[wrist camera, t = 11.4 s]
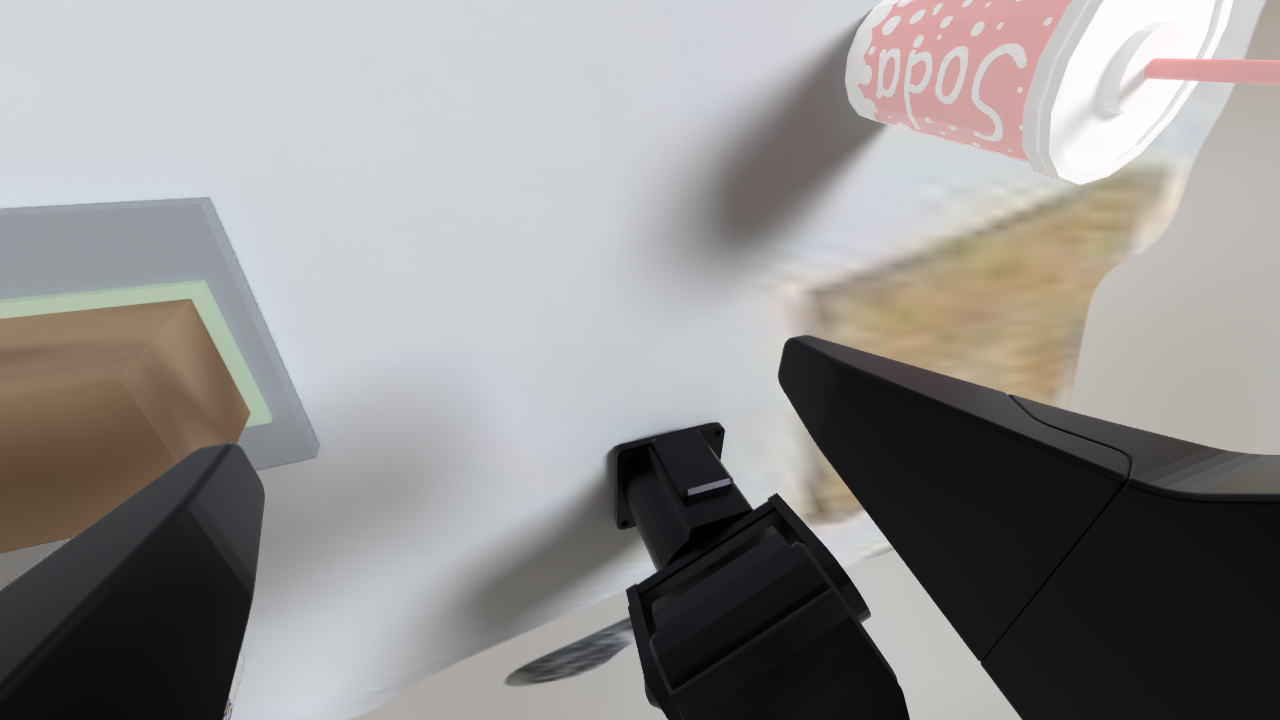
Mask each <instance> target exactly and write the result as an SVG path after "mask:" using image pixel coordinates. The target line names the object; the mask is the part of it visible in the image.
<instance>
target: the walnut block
mask: <svg viewBox="0 0 1280 720" xmlns="http://www.w3.org/2000/svg"><path fill="white" fill-rule="evenodd" d="M250 414H251V413H250V411H249V409H248V407H247V405H246V403H245V401H244V399H243V397H242V395H241V394H240V392H239V390H238V388H237V386H236V384H235V382H234V380H233V378H232V376H231V374H230V372H229V371H228V369H227V367H226V365H225V363H224V361H223V359H222V357H221V355H220V353H219V351H218V349H217V348H216V346H215V344H214V342H213V340H212V338H211V336H210V334H209V332H208V330H207V328H206V326H205V324H204V323H203V321H202V319H201V317H200V315H199V313H198V311H197V309H196V307H195V305H194V303H193V301H192V300H191V299H182V300H173V301H163V302H154V303H144V304H135V305H126V306H116V307H107V308H97V309H88V310H79V311H69V312H60V313H50V314H41V315H32V316H22V317H13V318H3V319H0V553H3V552H8V551H12V550H17V549H22V548H26V547H31V546H35V545H40V544H45V543H49V542H54V541H58V540H63V539H68V538H72V537H76V536H77V535H78V534H80V533H81V532H83V531H84V530H85V529H87V528H88V527H89V526H91V525H92V524H94V523H95V522H96V521H98V520H99V519H101V518H102V517H103V516H105V515H106V514H107V513H109V512H110V511H112V510H113V509H114V508H116V507H117V506H119V505H120V504H121V503H123V502H124V501H126V500H127V499H128V498H130V497H131V496H132V495H134V494H135V493H137V492H138V491H139V490H141V489H142V488H144V487H145V486H146V485H148V484H149V483H150V482H152V481H153V480H155V479H156V478H157V477H159V476H160V475H162V474H163V473H164V472H166V471H167V470H168V469H170V468H171V467H173V466H174V465H175V464H177V463H178V462H180V461H181V460H182V459H184V458H185V457H187V456H188V455H189V454H191V453H192V452H193V451H195V450H197V449H199V448H202V447H207V446H212V445H217V444H223V443H228V442H233V443H236V444H237V442H238V440H239V438H240V435H241V433H242V431H243V429H244V427H245V425H246V423H247V420H248V418H249V416H250Z"/></svg>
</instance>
